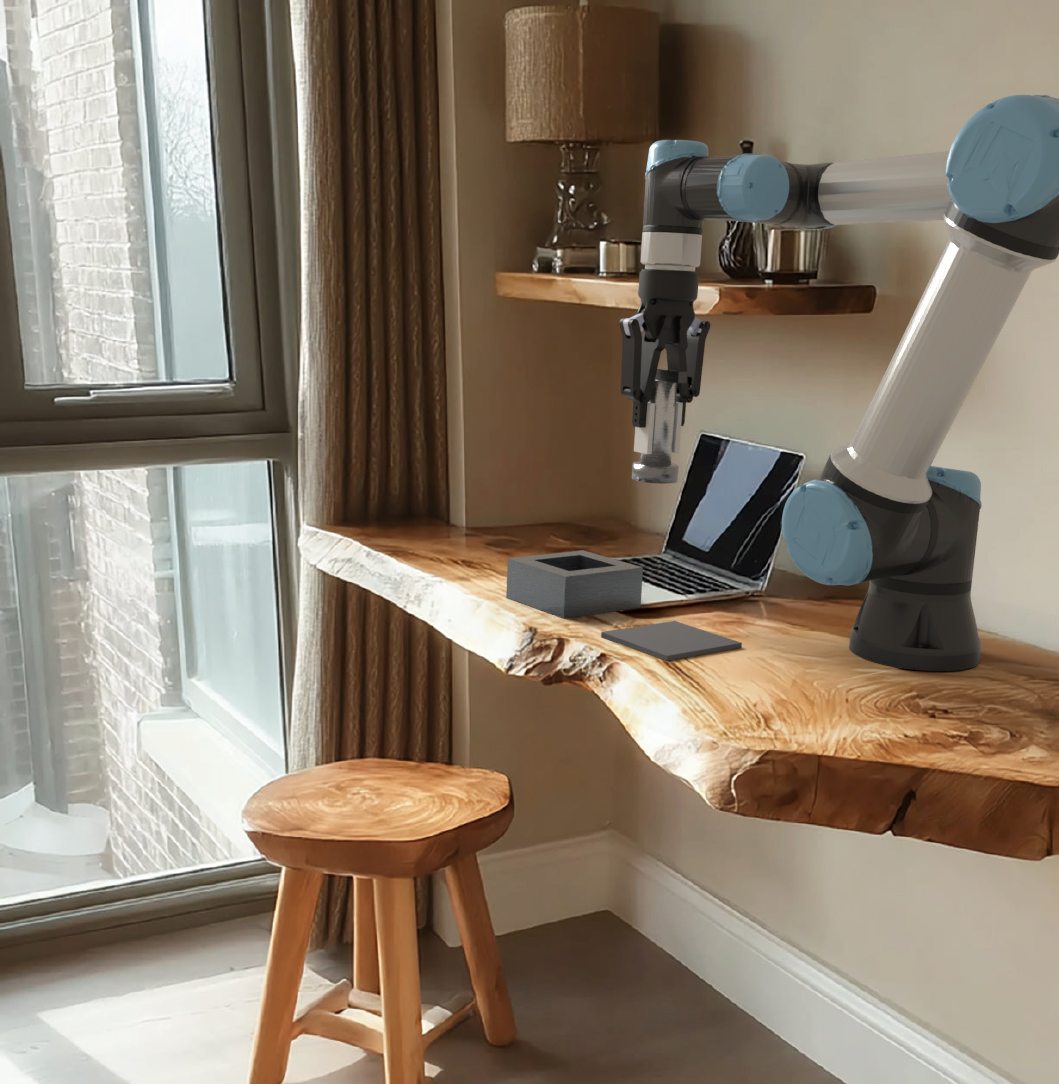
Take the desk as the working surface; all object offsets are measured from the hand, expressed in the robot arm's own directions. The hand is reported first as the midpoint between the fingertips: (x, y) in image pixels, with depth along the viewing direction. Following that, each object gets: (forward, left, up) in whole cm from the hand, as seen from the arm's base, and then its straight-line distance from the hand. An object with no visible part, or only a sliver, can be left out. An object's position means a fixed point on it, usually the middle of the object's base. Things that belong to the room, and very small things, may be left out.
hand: (656, 451), depth 169 cm
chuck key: (0, 0, -4) cm, 4 cm away
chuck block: (+8, +6, -21) cm, 24 cm away
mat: (-14, +8, -21) cm, 27 cm away
